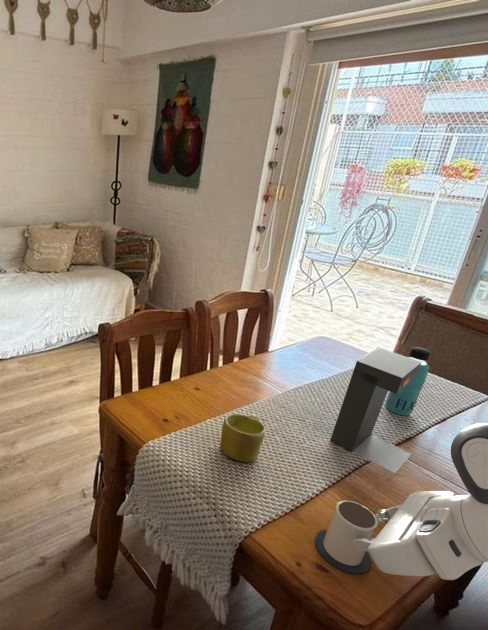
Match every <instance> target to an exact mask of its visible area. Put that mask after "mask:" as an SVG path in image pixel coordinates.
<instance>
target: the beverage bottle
mask: <svg viewBox="0 0 488 630" xmlns="http://www.w3.org/2000/svg"><path fill="white" fill-rule="evenodd" d="M430 354H431V352H430V351H429V350H428V349H427V348H424V347H420V346H412V347H411V348H410V351H409V352H408V355H409V357H408V358H411V359H414V360H417V361H420V362H422V363H421V366H420V368H419V371H418V373H417V376H416V377H415V378H414V379H413V380H412V381H411V382H410V383H409V384H407V385H406V386H405V387H404V388H403V389H402V390H401V391H399V392H398V393H397V394H395V393H393V392H390V391H388V393H387V396H386V399H385V400H384V402H385V403H384V406H385V408H386V409H387V410H389V411H391V412H392V413H394V414H397V415H401V416H409V415H411V413H413V411H414V409H415V406H416V405H417V402H418V398H419V397H420V393H421V391H422V389H423V387H424V385H425V383H426V379H427V377H428V373H429V371H430V369H431V368H430V366H429V364H428V363H427V362H426V361H428V360H429V358H430Z"/></svg>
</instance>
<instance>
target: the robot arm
mask: <svg viewBox="0 0 488 630" xmlns="http://www.w3.org/2000/svg"><path fill="white" fill-rule="evenodd" d="M450 456H451V458H450V459H451V461H452V464H453V466H454V468H455V470H456V472H457V474H458V476H459V478H460V480H461V481H462V483H463V485H464V487H465V489H466V490H467V491H468V493H469V494H459V495H456V494H455V493H454V492H452V491H448V490H424V491H416V492H412V493H410V494H408V496H407V498H406V499H405V500H404V501H403V503H402V504H398V505H395V506H392V507H389V508H385V509H378V510H377V512H376V513H374V515H375V517H376V518H377V521H378V522H379V523H381V524H385V525H384V527H383V528H382V529H381V530H380V532H379V533H378V534H377V536H375V538H372V539H371V541H370V540H367V538H366V536H357V537H356V538H355V539H354V540H353V544H354V546H355V547H356V549H357V550H359V551H367V552H368V553H369V555H370V558H371V560H372V561H373V563H374V564H375V566H376V568H377V569H378V570H379V571H381V572H382V573H384V574H388V575H394V576H395V575H396V576H407V577H431V576H434V575H435V574H437V575H438V577H439V578H440V579H441V580H445V581H454V580H458V579H459V578H460V577H462V576H463V575H464V574H465V573H467V572H468V571H470V570H472V569H473V568H476V567H479V566H481V565H483V564H484V563H488V422H483V423H482V422H481V423H475V424H472V425H469V426H466V427H464V428H463V429H462V430H460V431H459V432H458V433H457V434H456V435H455V437H454V438H453V439H452V442H451V445H450Z"/></svg>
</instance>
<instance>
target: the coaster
mask: <svg viewBox="0 0 488 630" xmlns="http://www.w3.org/2000/svg"><path fill="white" fill-rule="evenodd" d="M326 532H327V529H323V530H321V531H319V532H318V533H317V534H316V535H315V540H314V541H315V542H314V544H315V547H316V550H317V551H318V553H319V554H320V556H321V557H322V558H323V559H324V561H326V562H327V563H328V564H329V565H330V566H331V567H333V568H334V569H337V570H339V571H341V572H343V573H347V574H350V575H363V574H366V573H368V571H370V569H371V566H372V558H371V556H370V554H369V552H368V551H366V553H365V555H364V558H363V560H362V562H361V563H360V564H358V565H355V566H351V565H346V564H343V563H341V562H339V561H337V560H335V559H334V558H333V557H332V556H330V555H329V553H328V552H327V551H326V549H325V548H324V545H323V540H324V537H325V534H326Z"/></svg>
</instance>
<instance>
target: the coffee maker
mask: <svg viewBox="0 0 488 630" xmlns="http://www.w3.org/2000/svg"><path fill="white" fill-rule="evenodd" d="M421 363H422V362H420V361H417V360H414V359H411V358H409V357H408V356H405V355H403V354H400V353H397V352H394V351H392V350H388V349H385V348H382V347H379V346H377V347H376V348H374V349H372V350H371V351H369V352H368V353H366V354H365V355H364V356H362V357H361V358H359V359H357V361H356V362H355V365H354V368H353V371H352V373H351V377H350V380H349V383H348V386H347V389H346V392H345V395H344V398H343V401H342V404H341V407H340V410H339V413H338V415H337V419H336V422H335V424H334V428H333V431H332V433H331V436H330V440H329V442H330V443H332V444H334V445H335V446H338V447H340V448H342V449H344V450H345V451H348V452H349V453H354V454H356V455H358V456H359V457H362V458H364V459H365V460H367V461H369V462H371V463H373V464H375V465H377V466H378V467H381V468H383V469H384V470H386V471H389V472H390V473H392V474H394V475H396V474H397V473H398V471H399V470H401V468H402V467H403V466H404V465H405V463H406V462H407V461H408V460H409V459H410V458H411V457H412V455H413V454H412V453H410V452H409V451H406V450H404V449H402V448H400V447H398V446H396V445H394V444H392V443H390V442H388V441H386V440H385V439H384V440H383V439H381V438H379V437H377V436H375V435H373V432H374V429H375V425H376V423H377V420H378V418H379V415H380V413H381V411H382V408H383V405H384V402H385V400H386V398H387V396H388V393H389V392H393V393H395V394H397V393H398V392H399V391H401V390H402V389H403V388H404V387H405V386H406V385H407V384H409V383H410V382H411V381H412V380H413V379H414V378H415V377H416V376H417V373H418V371H419V368H420V366H421Z"/></svg>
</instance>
